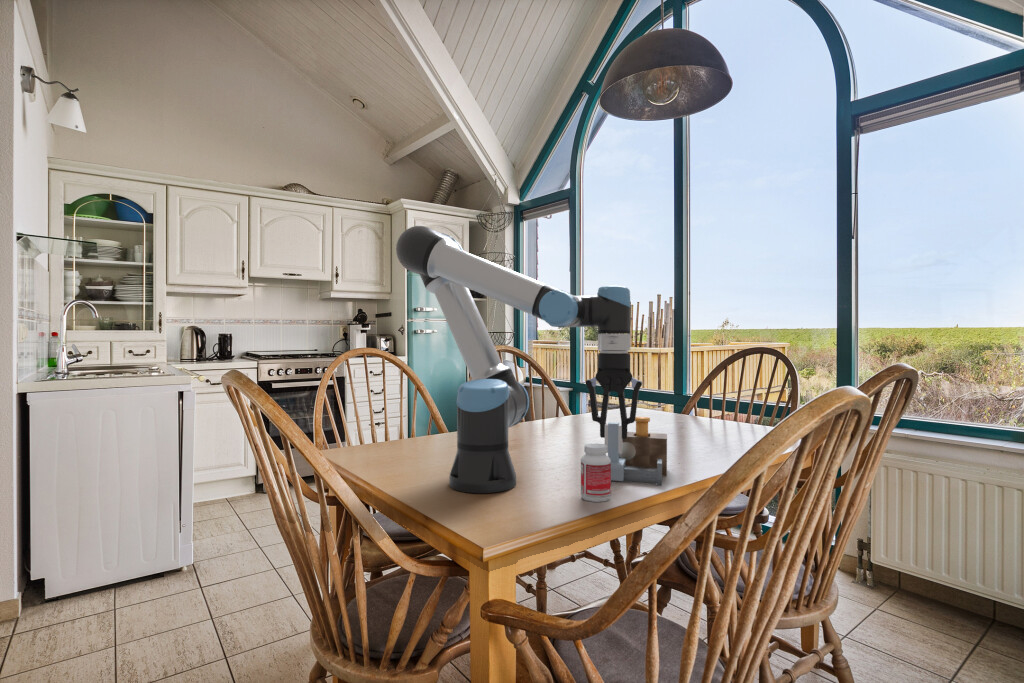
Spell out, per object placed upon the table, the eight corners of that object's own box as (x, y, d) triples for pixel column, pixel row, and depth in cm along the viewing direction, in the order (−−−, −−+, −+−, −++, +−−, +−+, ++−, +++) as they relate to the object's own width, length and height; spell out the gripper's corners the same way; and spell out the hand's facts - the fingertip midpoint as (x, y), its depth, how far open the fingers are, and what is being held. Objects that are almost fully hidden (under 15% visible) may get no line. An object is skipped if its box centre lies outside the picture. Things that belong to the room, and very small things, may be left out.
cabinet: (616, 472, 133) (616, 436, 133) (618, 465, 140) (618, 431, 140) (666, 476, 130) (666, 439, 130) (666, 469, 137) (667, 433, 136)
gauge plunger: (633, 446, 134) (633, 418, 134) (634, 443, 137) (634, 416, 137) (649, 446, 133) (649, 419, 132) (650, 443, 136) (650, 417, 136)
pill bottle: (616, 499, 111) (617, 446, 111) (594, 504, 108) (594, 449, 108) (596, 492, 117) (596, 441, 116) (574, 496, 113) (574, 444, 113)
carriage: (601, 480, 125) (601, 424, 124) (604, 472, 131) (604, 420, 131) (623, 481, 123) (623, 425, 123) (625, 474, 130) (625, 421, 129)
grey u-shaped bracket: (586, 479, 126) (586, 458, 126) (589, 474, 131) (589, 454, 131) (661, 485, 122) (661, 463, 121) (662, 480, 126) (662, 458, 126)
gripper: (578, 352, 125) (578, 453, 126) (647, 353, 121) (646, 457, 121) (583, 351, 133) (583, 446, 133) (648, 352, 128) (648, 450, 128)
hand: (613, 451), depth 127 cm, fingers closed on carriage, 2 cm apart
